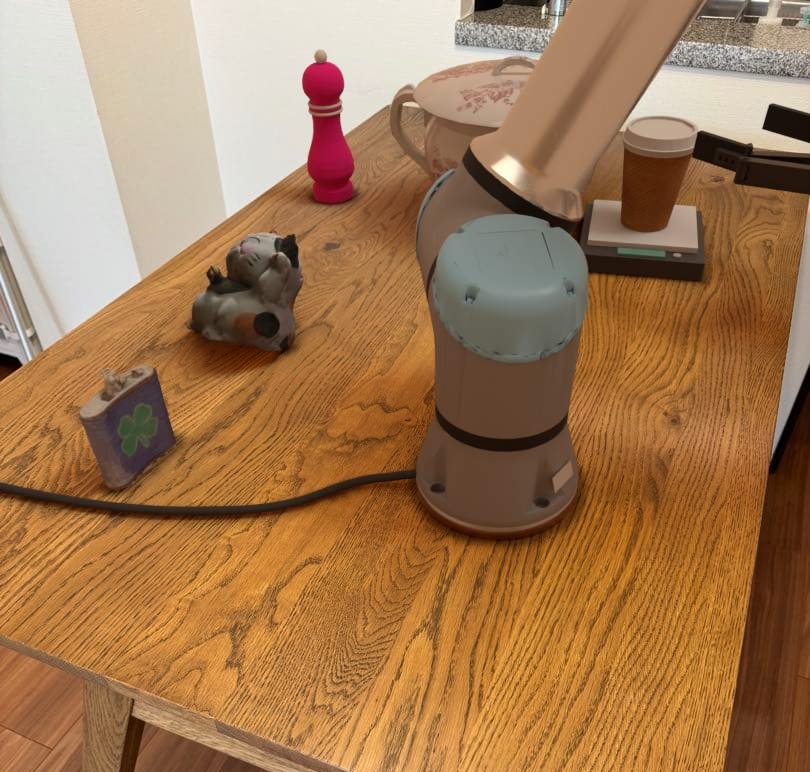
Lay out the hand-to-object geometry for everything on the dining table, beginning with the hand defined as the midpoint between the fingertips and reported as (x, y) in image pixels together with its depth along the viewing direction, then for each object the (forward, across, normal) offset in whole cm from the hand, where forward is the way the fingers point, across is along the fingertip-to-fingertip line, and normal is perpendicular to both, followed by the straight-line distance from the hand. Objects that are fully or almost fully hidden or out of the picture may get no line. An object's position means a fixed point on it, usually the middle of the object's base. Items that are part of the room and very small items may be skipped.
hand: (732, 129), depth 90 cm
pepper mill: (+52, -22, -18) cm, 59 cm away
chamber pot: (+29, -6, -18) cm, 35 cm away
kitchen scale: (+9, -1, -17) cm, 19 cm away
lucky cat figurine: (+25, -53, -18) cm, 61 cm away
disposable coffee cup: (+10, 0, -14) cm, 17 cm away
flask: (+12, -74, -18) cm, 77 cm away
